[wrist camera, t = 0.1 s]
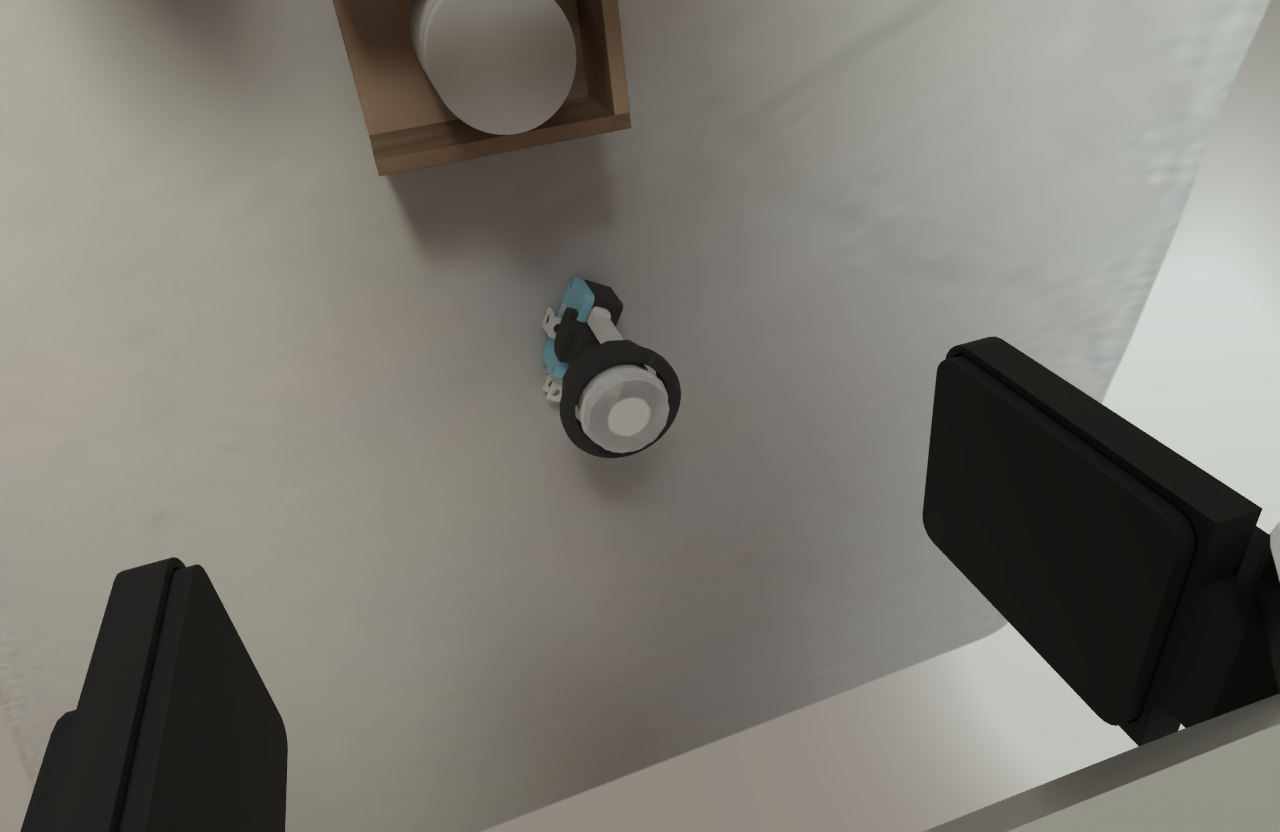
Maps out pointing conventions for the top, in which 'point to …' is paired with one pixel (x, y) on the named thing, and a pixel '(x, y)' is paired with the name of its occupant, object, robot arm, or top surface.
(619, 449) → the push button
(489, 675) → the top surface
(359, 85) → the slot rack
